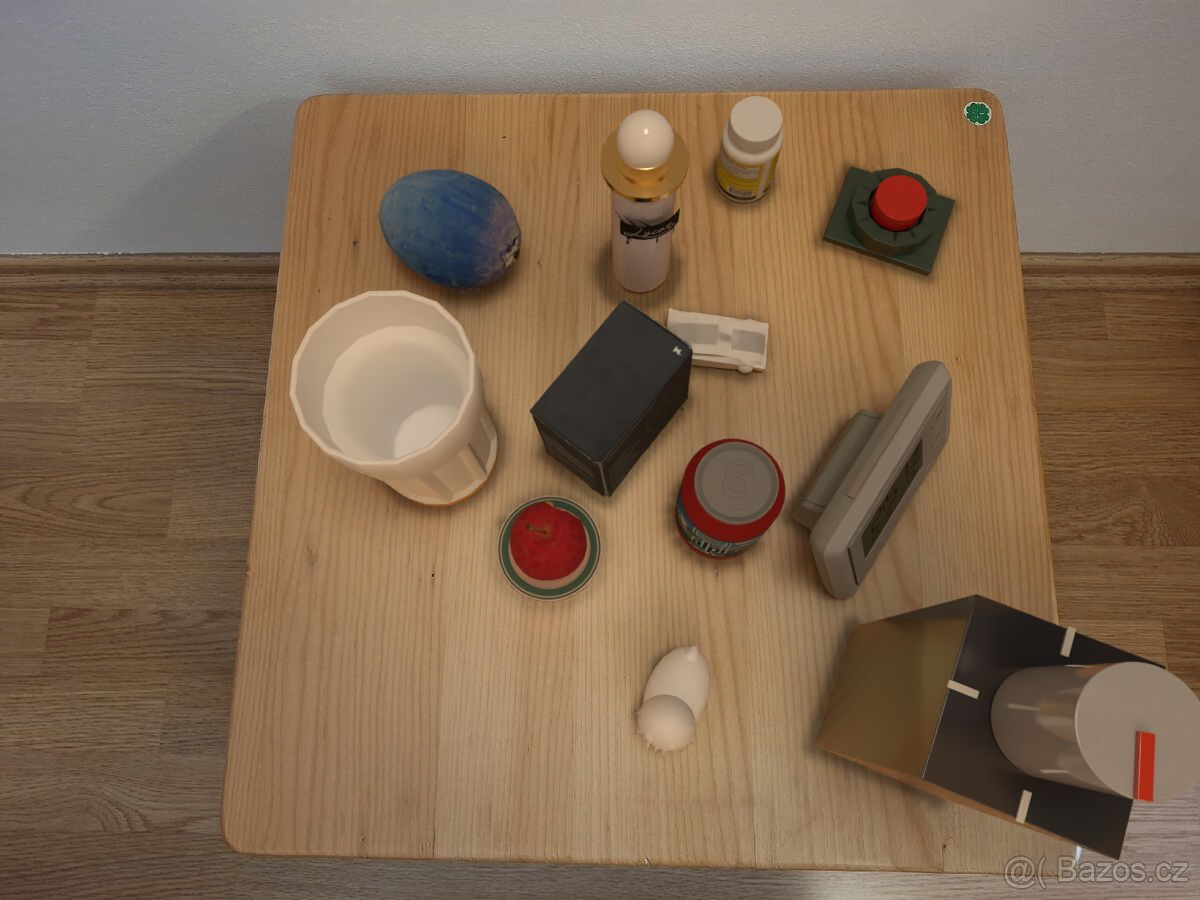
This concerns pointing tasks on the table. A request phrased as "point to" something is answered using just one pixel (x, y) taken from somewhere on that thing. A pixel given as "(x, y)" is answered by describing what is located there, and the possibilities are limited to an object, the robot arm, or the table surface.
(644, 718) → the toy creature
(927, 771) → the pillar
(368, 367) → the cup
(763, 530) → the beverage can
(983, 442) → the table surface
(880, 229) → the button box
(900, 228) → the button
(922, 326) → the table surface
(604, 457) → the box
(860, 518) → the digital clock
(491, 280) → the blue plum
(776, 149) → the supplement bottle
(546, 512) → the apple
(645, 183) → the perfume bottle
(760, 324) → the toy car
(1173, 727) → the hob knob
